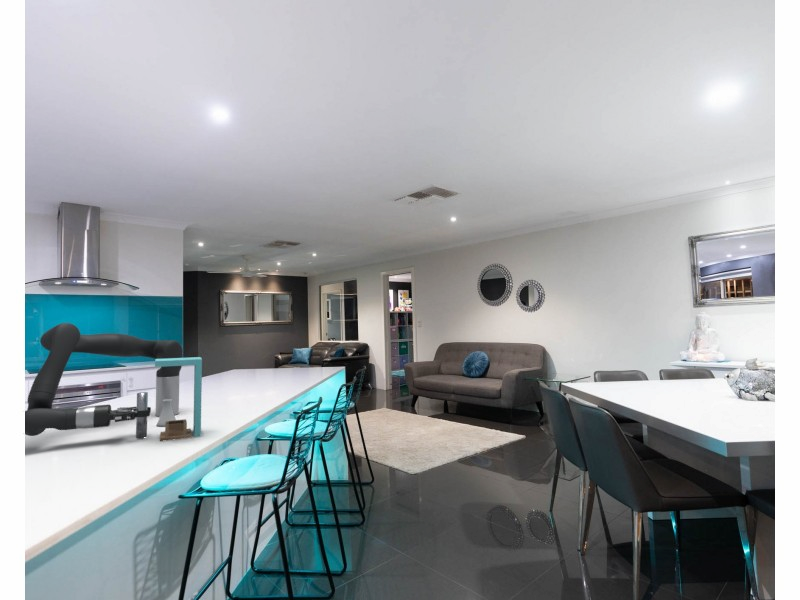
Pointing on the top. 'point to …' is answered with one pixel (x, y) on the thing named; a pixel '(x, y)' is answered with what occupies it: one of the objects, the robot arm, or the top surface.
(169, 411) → the flask
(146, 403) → the peg
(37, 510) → the top surface
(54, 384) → the robot arm
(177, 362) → the teal angle bracket
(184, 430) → the socket
